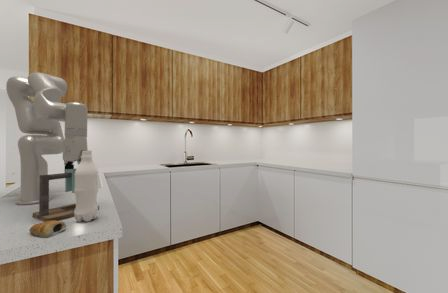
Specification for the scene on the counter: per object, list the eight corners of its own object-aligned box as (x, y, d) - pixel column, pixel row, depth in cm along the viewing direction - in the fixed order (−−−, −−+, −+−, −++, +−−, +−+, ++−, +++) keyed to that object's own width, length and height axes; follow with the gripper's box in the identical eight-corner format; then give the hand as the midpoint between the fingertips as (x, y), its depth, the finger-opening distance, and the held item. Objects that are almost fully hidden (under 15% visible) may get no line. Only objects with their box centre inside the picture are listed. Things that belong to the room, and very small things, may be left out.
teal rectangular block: (65, 191, 83) (65, 169, 84) (78, 189, 88) (78, 168, 88) (73, 192, 81) (73, 169, 81) (86, 190, 85) (86, 168, 85)
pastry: (21, 236, 61) (21, 223, 61) (44, 227, 68) (45, 216, 68) (48, 238, 60) (48, 225, 60) (69, 229, 66) (69, 217, 66)
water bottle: (86, 224, 70) (86, 151, 70) (68, 222, 72) (69, 150, 72) (102, 217, 78) (103, 150, 77) (86, 215, 79) (86, 150, 79)
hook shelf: (32, 216, 77) (32, 173, 77) (81, 205, 92) (81, 169, 92) (49, 223, 71) (49, 176, 71) (98, 209, 86) (99, 171, 86)
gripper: (54, 133, 85) (54, 174, 85) (77, 132, 77) (77, 178, 77) (74, 134, 92) (74, 172, 92) (98, 133, 84) (97, 176, 84)
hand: (75, 175), depth 84 cm, fingers open, 9 cm apart
